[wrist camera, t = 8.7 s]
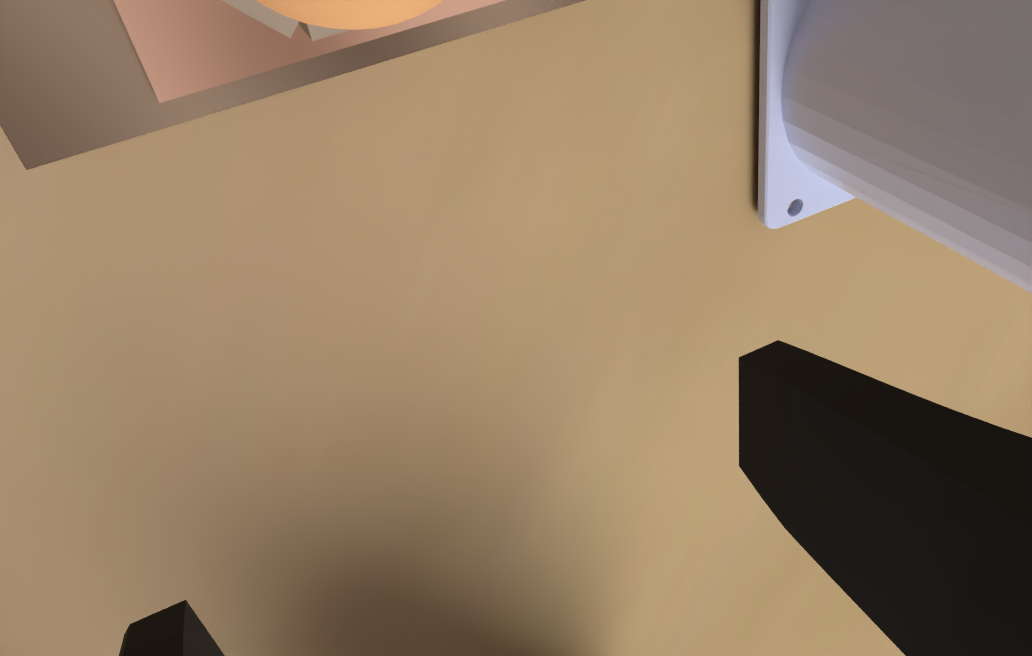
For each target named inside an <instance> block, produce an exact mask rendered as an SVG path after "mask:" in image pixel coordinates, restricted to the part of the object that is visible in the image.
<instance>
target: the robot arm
mask: <svg viewBox="0 0 1032 656" xmlns="http://www.w3.org/2000/svg"><path fill="white" fill-rule="evenodd" d="M856 197H857V198H859V199H861V200H862V201H864V202H866V203H868V204H870V205H871V206H873V207H875V208H877V209H879V210H881V211H882V212H884V213H886V214H888V215H890V216H892V217H893V218H895V219H897V220H899V221H901V222H903V223H904V224H906V225H908V226H910V227H912V228H914V229H915V230H917V231H919V232H921V233H923V234H925V235H926V236H928V237H930V238H932V239H934V240H936V241H937V242H939V243H941V244H943V245H945V246H947V247H948V248H950V249H952V250H954V251H956V252H957V253H959V254H961V255H963V256H965V257H967V258H968V259H970V260H972V261H974V262H976V263H978V264H979V265H981V266H983V267H985V268H987V269H989V270H990V271H992V272H994V273H996V274H998V275H1000V276H1001V277H1003V278H1005V279H1007V280H1009V281H1011V282H1012V283H1014V284H1016V285H1018V286H1020V287H1022V288H1023V289H1025V290H1027V291H1029V292H1031V293H1032V0H761V8H760V84H759V160H758V218H759V221H760V222H761V223H762V224H764V225H765V226H767V227H768V228H771V229H777V228H780V227H783V226H785V225H788V224H790V223H793V222H796V221H798V220H801V219H803V218H806V217H808V216H811V215H813V214H816V213H818V212H821V211H823V210H826V209H829V208H831V207H834V206H836V205H839V204H841V203H844V202H846V201H849V200H851V199H854V198H856ZM792 201H794V202H793V204H792V206H791V207H790V208H789V209H788V207H789V205H790V204H791V202H792ZM739 466H740V468H741V469H742V471H743V472H744V473H745V475H746V476H747V478H748V479H749V480H750V482H751V483H752V485H753V486H754V487H755V489H756V490H757V492H758V493H759V494H760V496H761V497H762V499H763V500H764V501H765V503H766V504H767V505H768V507H769V508H770V509H771V511H772V512H773V513H774V515H775V516H776V517H777V518H778V520H779V521H780V522H781V524H782V525H783V526H784V528H785V529H786V530H787V531H788V532H789V533H790V534H791V535H792V536H793V537H794V539H795V540H796V541H797V542H798V543H799V544H800V545H801V546H802V547H803V548H804V549H805V550H806V551H807V552H808V554H809V555H810V556H811V557H812V558H813V559H814V560H815V561H816V562H817V563H818V564H819V565H820V566H821V567H822V568H823V570H824V571H825V572H826V573H827V574H828V575H829V576H830V577H831V578H832V579H833V580H834V581H835V582H836V583H837V584H838V585H839V586H840V587H841V588H842V589H843V591H844V592H845V593H846V594H847V595H848V596H849V597H850V598H851V599H852V600H853V601H854V602H855V603H856V604H857V605H858V606H859V607H860V608H861V609H862V610H863V611H864V613H865V614H866V615H867V616H868V617H869V618H870V619H871V620H872V621H873V622H874V623H875V624H876V625H877V626H878V627H879V628H880V629H881V630H882V631H883V632H884V633H885V635H886V636H887V637H888V638H889V639H890V640H891V641H892V642H893V643H894V644H895V645H896V646H897V647H898V648H899V649H900V650H901V651H902V652H903V653H904V654H905V655H906V656H1032V438H1031V437H1028V436H1025V435H1022V434H1019V433H1016V432H1013V431H1010V430H1007V429H1004V428H1001V427H998V426H996V425H993V424H990V423H987V422H985V421H982V420H979V419H976V418H974V417H971V416H968V415H965V414H963V413H960V412H957V411H955V410H952V409H949V408H947V407H944V406H942V405H939V404H936V403H934V402H931V401H929V400H926V399H924V398H921V397H918V396H916V395H913V394H911V393H908V392H906V391H903V390H901V389H898V388H896V387H893V386H891V385H888V384H886V383H884V382H881V381H879V380H876V379H874V378H871V377H869V376H866V375H864V374H861V373H859V372H857V371H854V370H852V369H849V368H847V367H844V366H842V365H840V364H837V363H835V362H832V361H830V360H827V359H825V358H822V357H820V356H817V355H815V354H813V353H810V352H808V351H805V350H802V349H800V348H797V347H795V346H792V345H789V344H787V343H784V342H782V341H779V340H778V341H775V342H773V343H771V344H769V345H766V346H764V347H762V348H759V349H757V350H755V351H753V352H750V353H748V354H746V355H743V356H741V357H739ZM119 656H224V654H223V653H222V651H221V650H220V648H219V647H218V645H217V644H216V643H215V641H214V640H213V638H212V637H211V635H210V634H209V633H208V631H207V630H206V628H205V627H204V625H203V624H202V622H201V621H200V620H199V618H198V617H197V615H196V614H195V612H194V611H193V609H192V608H191V607H190V605H189V604H188V602H187V601H186V600H184V601H182V602H180V603H177V604H175V605H173V606H170V607H168V608H166V609H164V610H161V611H159V612H157V613H154V614H152V615H150V616H148V617H145V618H143V619H141V620H139V621H136V622H134V623H132V624H130V625H129V627H128V629H127V631H126V633H125V634H124V638H123V642H122V646H121V650H120V654H119Z"/></svg>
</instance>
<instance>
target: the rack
mask: <svg viewBox="0 0 1032 656" xmlns="http://www.w3.org/2000/svg"><path fill="white" fill-rule="evenodd" d="M581 1H584V0H443V1H442V2H441V3H439V4H438V5H436V6H435V7H433V8H432V9H430V10H428V11H426V12H424V13H422V14H420V15H418V16H417V17H414V18H411V19H409V20H406V21H403V22H401V23H398V24H394V25H389V26H385V27H380V28H374V29H361V30H349V29H333V28H326V27H321V26H316V25H311V24H306V23H303V22H300V21H297V20H295V19H292V18H289V17H286V16H284V15H282V14H280V13H277V12H275V11H273V10H271V9H269V8H267V7H265V6H263V5H262V4H260V3H259V2H257V1H256V0H0V125H1V127H2V129H3V131H4V132H5V134H6V136H7V137H8V139H9V141H10V143H11V144H12V146H13V148H14V150H15V151H16V153H17V155H18V156H19V158H20V160H21V162H22V163H23V165H24V167H25V168H26V170H28V169H31V168H35V167H38V166H41V165H45V164H48V163H51V162H54V161H58V160H61V159H64V158H68V157H71V156H74V155H77V154H81V153H84V152H87V151H91V150H94V149H97V148H100V147H104V146H107V145H110V144H114V143H117V142H120V141H124V140H127V139H130V138H133V137H137V136H140V135H143V134H147V133H150V132H153V131H156V130H160V129H163V128H166V127H170V126H173V125H176V124H179V123H183V122H186V121H189V120H193V119H196V118H199V117H203V116H206V115H209V114H212V113H216V112H219V111H222V110H226V109H229V108H232V107H235V106H239V105H242V104H245V103H249V102H252V101H255V100H259V99H262V98H265V97H268V96H272V95H275V94H278V93H282V92H285V91H288V90H291V89H295V88H298V87H301V86H305V85H308V84H311V83H314V82H318V81H321V80H324V79H328V78H331V77H334V76H338V75H341V74H344V73H347V72H351V71H354V70H357V69H361V68H364V67H367V66H370V65H374V64H377V63H380V62H384V61H387V60H390V59H394V58H397V57H400V56H403V55H407V54H410V53H413V52H417V51H420V50H423V49H426V48H430V47H433V46H436V45H440V44H443V43H446V42H449V41H453V40H456V39H459V38H463V37H466V36H469V35H473V34H476V33H479V32H482V31H486V30H489V29H492V28H496V27H499V26H502V25H505V24H509V23H512V22H515V21H519V20H522V19H525V18H528V17H532V16H535V15H538V14H542V13H545V12H548V11H552V10H555V9H558V8H561V7H565V6H568V5H571V4H575V3H578V2H581Z"/></svg>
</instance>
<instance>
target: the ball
mask: <svg viewBox="0 0 1032 656" xmlns="http://www.w3.org/2000/svg"><path fill="white" fill-rule="evenodd" d="M256 1H257V2H259V3H260V4H262V5H263V6H265V7H267V8H269V9H271V10H273V11H275V12H277V13H280V14H282V15H284V16H286V17H289V18H292V19H295V20H297V21H300V22H303V23H306V24H311V25H316V26H321V27H326V28H333V29H349V30H361V29H374V28H380V27H385V26H389V25H394V24H398V23H401V22H403V21H406V20H409V19H411V18H414V17H417V16H418V15H420V14H422V13H424V12H426V11H428V10H430V9H432V8H433V7H435V6H436V5H438V4H439V3H441V2H442V1H443V0H256Z"/></svg>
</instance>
